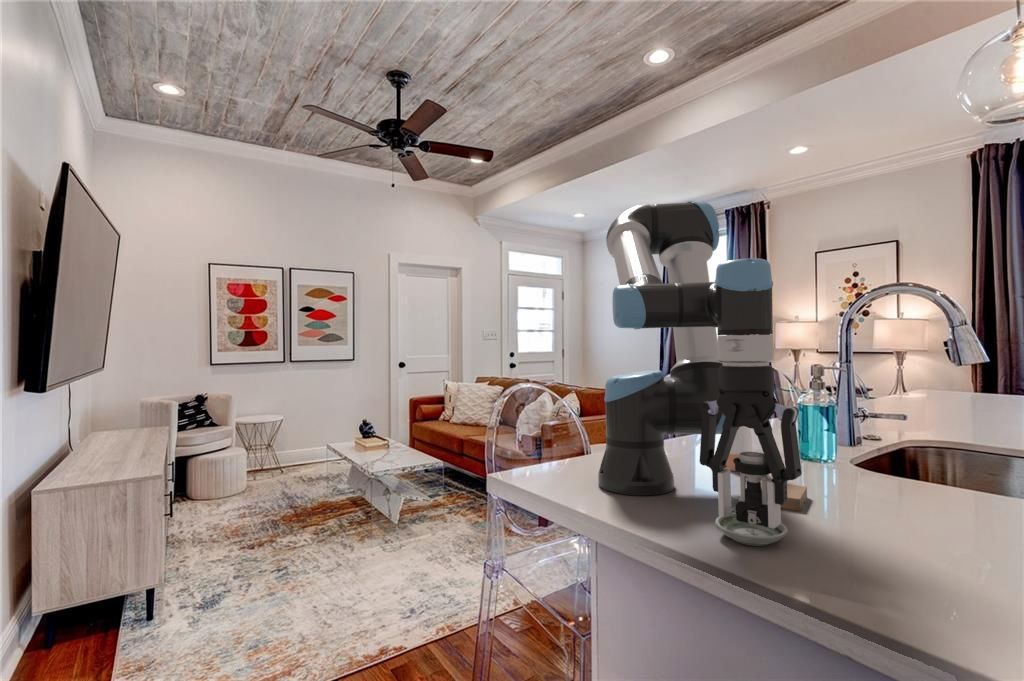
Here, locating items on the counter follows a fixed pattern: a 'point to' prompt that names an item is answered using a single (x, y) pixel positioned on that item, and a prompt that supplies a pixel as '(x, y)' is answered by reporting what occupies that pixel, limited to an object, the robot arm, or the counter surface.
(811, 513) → the counter surface
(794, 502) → the wooden block
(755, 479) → the push button
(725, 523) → the saucer
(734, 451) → the pepper shaker
